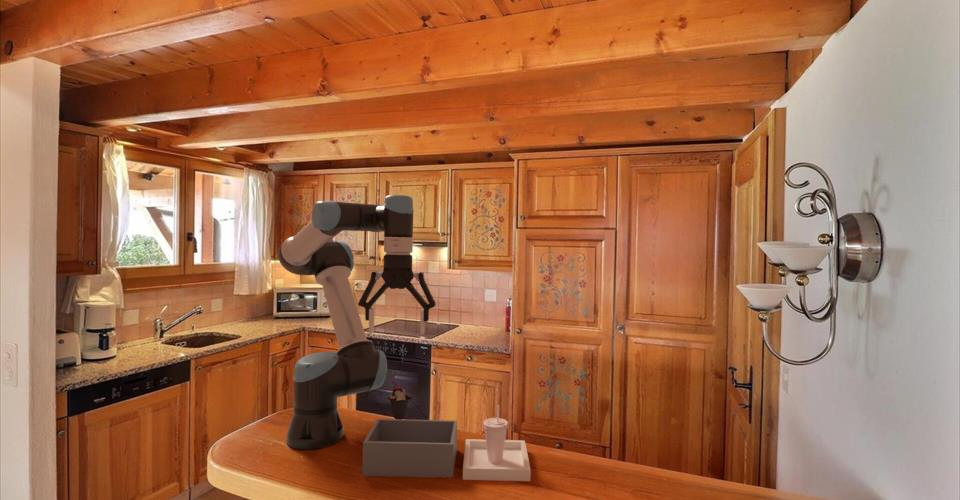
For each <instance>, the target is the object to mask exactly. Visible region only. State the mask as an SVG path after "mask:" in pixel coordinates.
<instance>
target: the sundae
mask: <svg viewBox="0 0 960 500" xmlns="http://www.w3.org/2000/svg"><path fill="white" fill-rule="evenodd" d="M391 384H393V385H394V387H393V388H392V391H391V393H390V395H389V396H388V397H387V400H389V402H390V408H391V414H392V415H391V416H392V417H393V419H404V418H405V417H406V416H407V411H408V403H409V401H410V400H412V397H411V395H410V392H411V390H409V391H408V392H407V393H406V389H404V388H402V387H400V386H398V385H397V384H396V383H395V381H391ZM395 387H396V388H395Z"/></svg>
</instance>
